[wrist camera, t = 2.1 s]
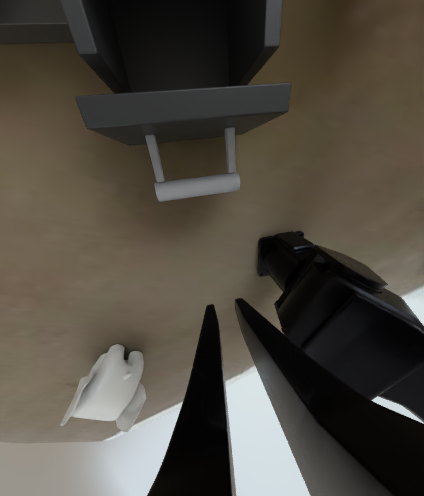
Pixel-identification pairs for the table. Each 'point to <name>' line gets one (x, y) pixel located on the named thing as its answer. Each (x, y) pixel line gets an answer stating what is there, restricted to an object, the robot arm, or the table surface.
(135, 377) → the elephant figurine
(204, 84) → the box with white handle
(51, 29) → the pad
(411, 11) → the table surface
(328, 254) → the robot arm
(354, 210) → the table surface
